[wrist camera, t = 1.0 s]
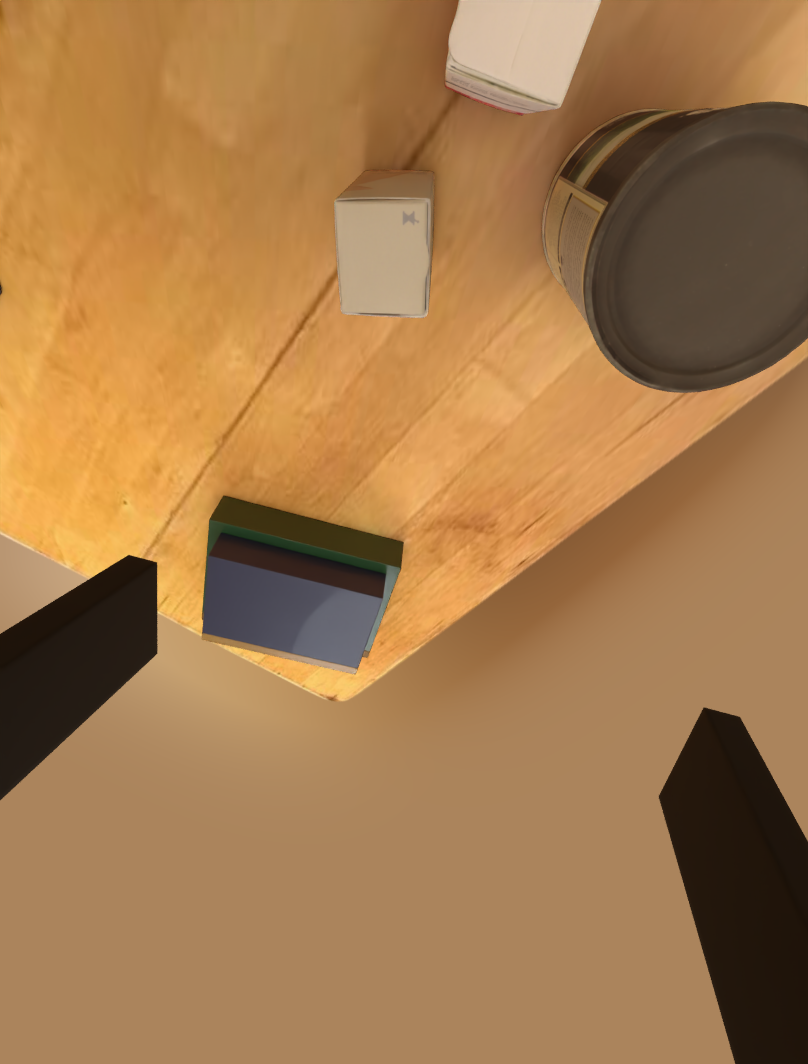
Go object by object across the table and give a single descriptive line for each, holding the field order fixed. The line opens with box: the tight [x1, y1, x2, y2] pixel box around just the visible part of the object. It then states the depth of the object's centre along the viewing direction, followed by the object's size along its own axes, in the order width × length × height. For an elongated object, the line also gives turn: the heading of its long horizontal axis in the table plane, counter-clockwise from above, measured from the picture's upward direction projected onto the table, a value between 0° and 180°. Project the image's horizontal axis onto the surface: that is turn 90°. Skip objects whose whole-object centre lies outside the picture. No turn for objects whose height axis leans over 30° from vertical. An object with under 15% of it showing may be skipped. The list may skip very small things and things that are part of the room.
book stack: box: [202, 496, 403, 674], centre depth 49 cm, size 16×12×7 cm
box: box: [334, 170, 434, 318], centre depth 29 cm, size 5×4×11 cm
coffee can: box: [542, 102, 808, 393], centre depth 27 cm, size 10×10×14 cm
